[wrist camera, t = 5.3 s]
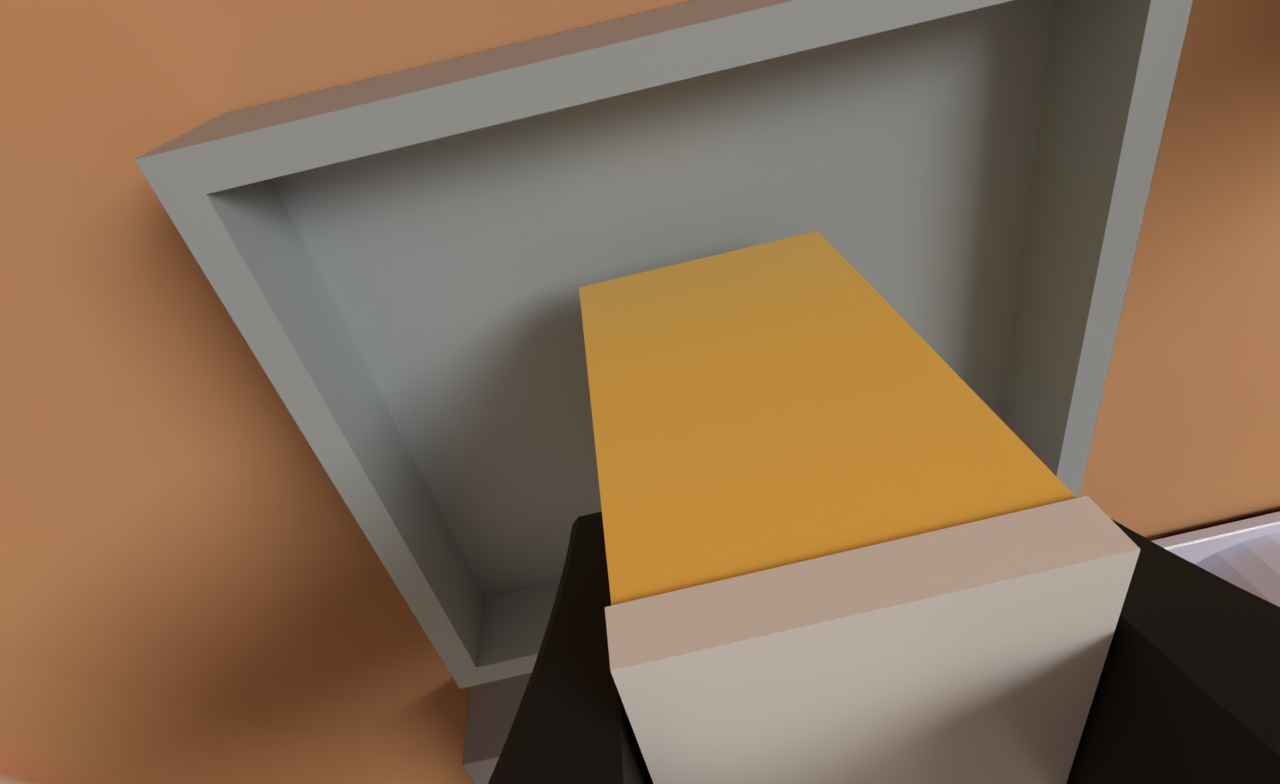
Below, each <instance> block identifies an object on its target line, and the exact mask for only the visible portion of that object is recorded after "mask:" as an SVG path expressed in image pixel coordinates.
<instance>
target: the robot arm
mask: <svg viewBox="0 0 1280 784" xmlns="http://www.w3.org/2000/svg"><path fill="white" fill-rule="evenodd" d="M1111 520H1112V519H1111ZM1112 521H1113V522H1114V523H1115V524H1116V525H1117V526H1118V527H1119V528H1120V529H1121V530H1122V531H1123V532H1124V533H1125V534H1126V535H1127V536H1128V537H1129V538H1130V539H1131V540H1132V541H1133V542H1134V543H1135V544H1136V545H1137V546H1138V547H1139V548H1140V549H1141V550H1140V553H1139V556H1138V559H1137V562H1136V566H1135V569H1134V572H1133V575H1132V578H1131V581H1130V584H1129V588H1128V591H1127V594H1126V597H1125V600H1124V603H1123V606H1122V610H1121V613H1120V616H1119V619H1118V622H1117V625H1116V628H1115V632H1114V635H1113V638H1112V641H1111V644H1110V647H1109V650H1108V654H1107V657H1106V660H1105V663H1104V666H1103V669H1102V673H1101V676H1100V679H1099V682H1098V685H1097V688H1096V691H1095V695H1094V698H1093V701H1092V704H1091V707H1090V710H1089V713H1088V717H1087V720H1086V723H1085V726H1084V729H1083V732H1082V735H1081V739H1080V742H1079V745H1078V748H1077V751H1076V754H1075V758H1074V761H1073V764H1072V767H1071V770H1070V773H1069V776H1068V780H1067V783H1066V784H1280V511H1278V512H1274V513H1270V514H1265V515H1261V516H1257V517H1252V518H1248V519H1244V520H1239V521H1235V522H1230V523H1226V524H1222V525H1217V526H1213V527H1209V528H1204V529H1200V530H1196V531H1191V532H1187V533H1182V534H1178V535H1174V536H1169V537H1165V538H1161V539H1156V540H1152V541H1150V540H1148V539H1146V538H1144V537H1143V536H1141V535H1139V534H1137V533H1135V532H1133V531H1132V530H1130V529H1128V528H1126V527H1125V526H1123V525H1121V524H1119V523H1117V522H1116V521H1114V520H1112ZM608 606H611V597H610V587H609V577H608V567H607V557H606V548H605V538H604V528H603V518H602V511H601V512H597V513H593V514H588V515H584V516H580V517H578V518H577V519H576V520H575V522H574V523H573V524H572V529H571V535H570V541H569V545H568V550H567V555H566V559H565V564H564V568H563V572H562V576H561V580H560V583H559V587H558V591H557V594H556V598H555V602H554V605H553V609H552V612H551V615H550V618H549V621H548V624H547V628H546V631H545V634H544V637H543V640H542V643H541V646H540V650H539V653H538V656H537V659H536V662H535V665H534V668H533V671H532V674H531V676H530V679H529V682H528V684H527V687H526V690H525V692H524V695H523V698H522V700H521V703H520V705H519V708H518V711H517V713H516V716H515V719H514V721H513V724H512V727H511V729H510V732H509V734H508V737H507V740H506V742H505V744H504V747H503V749H502V752H501V754H500V756H499V759H498V761H497V764H496V766H495V768H494V771H493V773H492V775H491V778H490V780H489V782H488V784H653V781H652V778H651V776H650V773H649V770H648V768H647V765H646V763H645V760H644V757H643V755H642V752H641V750H640V747H639V744H638V742H637V739H636V736H635V734H634V731H633V729H632V726H631V723H630V721H629V718H628V716H627V713H626V710H625V708H624V705H623V702H622V700H621V697H620V695H619V692H618V689H617V687H616V684H615V682H614V679H613V676H612V674H611V671H610V660H609V649H608V638H607V627H606V616H605V607H608Z"/></svg>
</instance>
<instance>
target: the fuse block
mask: <svg viewBox="0 0 1280 784" xmlns="http://www.w3.org/2000/svg"><path fill="white" fill-rule="evenodd" d="M531 674H532V673H527V674H523V675H519V676H514V677H510V678H506V679H501V680H497V681H493V682H488V683H484V684H479V685H475V686H471V687H470V693H469V703H468V713H467V722H466V732H465V742H464V752H463V762H462V766H463V767H464V768H465V770H466V771H467V773H468V774H469V776H470V777H471V779H472V780H473V782H474V783H475V784H488V782H489V780H490V778H491V775H492V773H493V771H494V768H495V766H496V764H497V761H498V759H499V756H500V754H501V752H502V749H503V747H504V744H505V742H506V740H507V737H508V734H509V732H510V729H511V727H512V724H513V721H514V719H515V716H516V713H517V711H518V708H519V705H520V703H521V700H522V698H523V695H524V692H525V690H526V687H527V684H528V682H529V679H530V676H531Z"/></svg>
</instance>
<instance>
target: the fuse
mask: <svg viewBox="0 0 1280 784" xmlns="http://www.w3.org/2000/svg"><path fill="white" fill-rule="evenodd" d="M579 293H580V302H581V312H582V322H583V332H584V342H585V351H586V361H587V371H588V381H589V391H590V401H591V410H592V420H593V430H594V440H595V450H596V459H597V469H598V479H599V489H600V499H601V508H602V518H603V528H604V538H605V548H606V557H607V567H608V577H609V587H610V597H611V606H608V607H605V616H606V627H607V638H608V649H609V660H610V671H611V674H612V676H613V679H614V682H615V684H616V687H617V689H618V692H619V695H620V697H621V700H622V702H623V705H624V708H625V710H626V713H627V716H628V718H629V721H630V723H631V726H632V729H633V731H634V734H635V736H636V739H637V742H638V744H639V747H640V750H641V752H642V755H643V757H644V760H645V763H646V765H647V768H648V770H649V773H650V776H651V778H652V781H653V784H1066V783H1067V780H1068V776H1069V773H1070V770H1071V767H1072V764H1073V761H1074V758H1075V754H1076V751H1077V748H1078V745H1079V742H1080V739H1081V735H1082V732H1083V729H1084V726H1085V723H1086V720H1087V717H1088V713H1089V710H1090V707H1091V704H1092V701H1093V698H1094V695H1095V691H1096V688H1097V685H1098V682H1099V679H1100V676H1101V673H1102V669H1103V666H1104V663H1105V660H1106V657H1107V654H1108V650H1109V647H1110V644H1111V641H1112V638H1113V635H1114V632H1115V628H1116V625H1117V622H1118V619H1119V616H1120V613H1121V610H1122V606H1123V603H1124V600H1125V597H1126V594H1127V591H1128V588H1129V584H1130V581H1131V578H1132V575H1133V572H1134V569H1135V566H1136V562H1137V559H1138V556H1139V553H1140V550H1141V549H1140V548H1139V547H1138V546H1137V545H1136V544H1135V543H1134V542H1133V541H1132V540H1131V539H1130V538H1129V537H1128V536H1127V535H1126V534H1125V533H1124V532H1123V531H1122V530H1121V529H1120V528H1119V527H1118V526H1117V525H1116V524H1115V523H1114V522H1113V521H1112V520H1111V519H1110V518H1109V517H1108V516H1107V515H1106V514H1105V513H1104V512H1103V511H1102V510H1101V509H1100V508H1099V507H1098V506H1097V505H1096V504H1095V503H1094V502H1093V501H1092V500H1091V499H1090V498H1089V497H1088V496H1084V497H1079V498H1077V497H1076V496H1075V495H1074V494H1073V493H1072V492H1071V491H1070V490H1069V489H1068V488H1067V487H1066V486H1065V485H1064V484H1063V483H1062V482H1061V481H1060V480H1059V479H1058V478H1057V477H1056V476H1055V475H1054V474H1053V473H1052V471H1051V470H1050V469H1049V468H1048V467H1047V466H1046V465H1045V464H1044V463H1043V462H1042V461H1041V460H1040V459H1039V458H1038V457H1037V456H1036V455H1035V454H1034V453H1033V452H1032V451H1031V450H1030V449H1029V448H1028V447H1027V446H1026V445H1025V444H1024V443H1023V442H1022V441H1021V440H1020V439H1019V438H1018V436H1017V435H1016V434H1015V433H1014V432H1013V431H1012V430H1011V429H1010V428H1009V427H1008V426H1007V425H1006V424H1005V423H1004V422H1003V421H1002V420H1001V419H1000V418H999V417H998V416H997V415H996V414H995V413H994V412H993V411H992V410H991V409H990V408H989V407H988V406H987V405H986V404H985V402H984V401H983V400H982V399H981V398H980V397H979V396H978V395H977V394H976V393H975V392H974V391H973V390H972V389H971V388H970V387H969V386H968V385H967V384H966V383H965V382H964V381H963V380H962V379H961V378H960V377H959V376H958V375H957V374H956V373H955V372H954V371H953V370H952V369H951V367H950V366H949V365H948V364H947V363H946V362H945V361H944V360H943V359H942V358H941V357H940V356H939V355H938V354H937V353H936V352H935V351H934V350H933V349H932V348H931V347H930V346H929V345H928V344H927V343H926V342H925V341H924V340H923V339H922V338H921V337H920V336H919V335H918V333H917V332H916V331H915V330H914V329H913V328H912V327H911V326H910V325H909V324H908V323H907V322H906V321H905V320H904V319H903V318H902V317H901V316H900V315H899V314H898V313H897V312H896V311H895V310H894V309H893V308H892V307H891V306H890V305H889V304H888V303H887V302H886V301H885V299H884V298H883V297H882V296H881V295H880V294H879V293H878V292H877V291H876V290H875V289H874V288H873V287H872V286H871V285H870V284H869V283H868V282H867V281H866V280H865V279H864V278H863V277H862V276H861V275H860V274H859V273H858V272H857V271H856V270H855V269H854V268H853V267H852V266H851V264H850V263H849V262H848V261H847V260H846V259H845V258H844V257H843V256H842V255H841V254H840V253H839V252H838V251H837V250H836V249H835V248H834V247H833V246H832V245H831V244H830V243H829V242H828V241H827V240H826V239H825V238H824V237H823V236H822V235H821V234H820V233H819V232H818V231H814V232H810V233H806V234H802V235H797V236H793V237H789V238H785V239H781V240H776V241H772V242H768V243H764V244H760V245H755V246H751V247H747V248H743V249H738V250H734V251H730V252H726V253H722V254H717V255H713V256H709V257H705V258H700V259H696V260H692V261H688V262H684V263H679V264H675V265H671V266H667V267H663V268H658V269H654V270H650V271H646V272H641V273H637V274H633V275H629V276H625V277H620V278H616V279H612V280H608V281H603V282H599V283H595V284H591V285H587V286H582V287H579Z"/></svg>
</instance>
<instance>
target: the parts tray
mask: <svg viewBox="0 0 1280 784" xmlns="http://www.w3.org/2000/svg"><path fill="white" fill-rule="evenodd" d="M1192 3H1193V0H694V1H690V2H685V3H681V4H677V5H673V6H669V7H665V8H661V9H657V10H652V11H648V12H644V13H640V14H636V15H632V16H628V17H623V18H619V19H615V20H611V21H607V22H603V23H599V24H595V25H590V26H586V27H582V28H578V29H574V30H570V31H566V32H561V33H557V34H553V35H549V36H545V37H541V38H537V39H533V40H528V41H524V42H520V43H516V44H512V45H508V46H504V47H499V48H495V49H491V50H487V51H483V52H479V53H475V54H470V55H466V56H462V57H458V58H454V59H450V60H446V61H442V62H437V63H433V64H429V65H425V66H421V67H417V68H413V69H408V70H404V71H400V72H396V73H392V74H388V75H384V76H380V77H375V78H371V79H367V80H363V81H359V82H355V83H351V84H346V85H342V86H338V87H334V88H330V89H326V90H322V91H317V92H313V93H309V94H305V95H301V96H297V97H293V98H289V99H284V100H280V101H276V102H272V103H268V104H264V105H260V106H255V107H251V108H247V109H243V110H239V111H235V112H231V113H227V114H222V115H220V116H218V117H216V118H214V119H212V120H210V121H208V122H206V123H205V124H203V125H201V126H199V127H197V128H195V129H193V130H191V131H189V132H187V133H185V134H183V135H181V136H179V137H177V138H175V139H173V140H171V141H170V142H168V143H166V144H164V145H162V146H160V147H158V148H156V149H154V150H152V151H150V152H148V153H146V154H144V155H142V156H140V157H138V158H136V159H135V161H136V163H137V165H138V166H139V168H140V170H141V171H142V173H143V174H144V176H145V178H146V179H147V181H148V183H149V184H150V186H151V187H152V189H153V191H154V192H155V194H156V196H157V197H158V199H159V201H160V202H161V204H162V205H163V207H164V209H165V210H166V212H167V214H168V215H169V217H170V218H171V220H172V222H173V223H174V225H175V227H176V228H177V230H178V231H179V233H180V235H181V236H182V238H183V240H184V241H185V243H186V244H187V246H188V248H189V249H190V251H191V253H192V254H193V256H194V257H195V259H196V261H197V262H198V264H199V266H200V267H201V269H202V271H203V272H204V274H205V275H206V277H207V279H208V280H209V282H210V284H211V285H212V287H213V288H214V290H215V292H216V293H217V295H218V297H219V298H220V300H221V301H222V303H223V305H224V306H225V308H226V310H227V311H228V313H229V314H230V316H231V318H232V319H233V321H234V323H235V324H236V326H237V328H238V329H239V331H240V332H241V334H242V336H243V337H244V339H245V341H246V342H247V344H248V345H249V347H250V349H251V350H252V352H253V354H254V355H255V357H256V358H257V360H258V362H259V363H260V365H261V367H262V368H263V370H264V371H265V373H266V375H267V376H268V378H269V380H270V381H271V383H272V384H273V386H274V388H275V389H276V391H277V393H278V394H279V396H280V398H281V399H282V401H283V402H284V404H285V406H286V407H287V409H288V411H289V412H290V414H291V415H292V417H293V419H294V420H295V422H296V424H297V425H298V427H299V428H300V430H301V432H302V433H303V435H304V437H305V438H306V440H307V441H308V443H309V445H310V446H311V448H312V450H313V451H314V453H315V455H316V456H317V458H318V459H319V461H320V463H321V464H322V466H323V468H324V469H325V471H326V472H327V474H328V476H329V477H330V479H331V481H332V482H333V484H334V485H335V487H336V489H337V490H338V492H339V494H340V495H341V497H342V498H343V500H344V502H345V503H346V505H347V507H348V508H349V510H350V511H351V513H352V515H353V516H354V518H355V520H356V521H357V523H358V525H359V526H360V528H361V529H362V531H363V533H364V534H365V536H366V538H367V539H368V541H369V542H370V544H371V546H372V547H373V549H374V551H375V552H376V554H377V555H378V557H379V559H380V560H381V562H382V564H383V565H384V567H385V568H386V570H387V572H388V573H389V575H390V577H391V578H392V580H393V582H394V583H395V585H396V586H397V588H398V590H399V591H400V593H401V595H402V596H403V598H404V599H405V601H406V603H407V604H408V606H409V608H410V609H411V611H412V612H413V614H414V616H415V617H416V619H417V621H418V622H419V624H420V625H421V627H422V629H423V630H424V632H425V634H426V635H427V637H428V638H429V640H430V642H431V643H432V645H433V647H434V648H435V650H436V652H437V653H438V655H439V656H440V658H441V660H442V661H443V663H444V665H445V666H446V668H447V669H448V671H449V673H450V674H451V676H452V678H453V679H454V681H455V682H456V684H457V686H458V687H459V689H462V688H466V687H471V686H475V685H479V684H484V683H488V682H493V681H497V680H501V679H506V678H510V677H514V676H519V675H523V674H527V673H532V671H533V668H534V665H535V662H536V659H537V656H538V653H539V650H540V646H541V643H542V640H543V637H544V634H545V631H546V628H547V624H548V621H549V618H550V615H551V612H552V609H553V605H554V602H555V598H556V594H557V591H558V587H559V583H560V580H561V576H562V572H563V568H564V564H565V559H566V555H567V550H568V545H569V541H570V535H571V529H572V524H573V523H574V522H575V520H576V519H577V518H578V517H580V516H584V515H588V514H593V513H597V512H601V511H602V508H601V499H600V489H599V479H598V469H597V459H596V450H595V440H594V430H593V420H592V410H591V401H590V391H589V381H588V371H587V361H586V351H585V342H584V332H583V322H582V312H581V302H580V293H579V287H582V286H587V285H591V284H595V283H599V282H603V281H608V280H612V279H616V278H620V277H625V276H629V275H633V274H637V273H641V272H646V271H650V270H654V269H658V268H663V267H667V266H671V265H675V264H679V263H684V262H688V261H692V260H696V259H700V258H705V257H709V256H713V255H717V254H722V253H726V252H730V251H734V250H738V249H743V248H747V247H751V246H755V245H760V244H764V243H768V242H772V241H776V240H781V239H785V238H789V237H793V236H797V235H802V234H806V233H810V232H814V231H818V232H819V233H820V234H821V235H822V236H823V237H824V238H825V239H826V240H827V241H828V242H829V243H830V244H831V245H832V246H833V247H834V248H835V249H836V250H837V251H838V252H839V253H840V254H841V255H842V256H843V257H844V258H845V259H846V260H847V261H848V262H849V263H850V264H851V266H852V267H853V268H854V269H855V270H856V271H857V272H858V273H859V274H860V275H861V276H862V277H863V278H864V279H865V280H866V281H867V282H868V283H869V284H870V285H871V286H872V287H873V288H874V289H875V290H876V291H877V292H878V293H879V294H880V295H881V296H882V297H883V298H884V299H885V301H886V302H887V303H888V304H889V305H890V306H891V307H892V308H893V309H894V310H895V311H896V312H897V313H898V314H899V315H900V316H901V317H902V318H903V319H904V320H905V321H906V322H907V323H908V324H909V325H910V326H911V327H912V328H913V329H914V330H915V331H916V332H917V333H918V335H919V336H920V337H921V338H922V339H923V340H924V341H925V342H926V343H927V344H928V345H929V346H930V347H931V348H932V349H933V350H934V351H935V352H936V353H937V354H938V355H939V356H940V357H941V358H942V359H943V360H944V361H945V362H946V363H947V364H948V365H949V366H950V367H951V369H952V370H953V371H954V372H955V373H956V374H957V375H958V376H959V377H960V378H961V379H962V380H963V381H964V382H965V383H966V384H967V385H968V386H969V387H970V388H971V389H972V390H973V391H974V392H975V393H976V394H977V395H978V396H979V397H980V398H981V399H982V400H983V401H984V402H985V404H986V405H987V406H988V407H989V408H990V409H991V410H992V411H993V412H994V413H995V414H996V415H997V416H998V417H999V418H1000V419H1001V420H1002V421H1003V422H1004V423H1005V424H1006V425H1007V426H1008V427H1009V428H1010V429H1011V430H1012V431H1013V432H1014V433H1015V434H1016V435H1017V436H1018V438H1019V439H1020V440H1021V441H1022V442H1023V443H1024V444H1025V445H1026V446H1027V447H1028V448H1029V449H1030V450H1031V451H1032V452H1033V453H1034V454H1035V455H1036V456H1037V457H1038V458H1039V459H1040V460H1041V461H1042V462H1043V463H1044V464H1045V465H1046V466H1047V467H1048V468H1049V469H1050V470H1051V471H1052V473H1053V474H1054V475H1055V476H1056V477H1057V478H1058V479H1059V480H1060V481H1061V482H1062V483H1063V484H1064V485H1065V486H1066V487H1067V488H1068V489H1069V490H1070V491H1071V492H1072V493H1073V494H1074V495H1075V496H1076V497H1077V498H1079V495H1080V491H1081V487H1082V482H1083V478H1084V473H1085V469H1086V465H1087V460H1088V456H1089V452H1090V447H1091V443H1092V439H1093V434H1094V430H1095V425H1096V421H1097V417H1098V412H1099V408H1100V404H1101V399H1102V395H1103V391H1104V386H1105V382H1106V378H1107V373H1108V369H1109V364H1110V360H1111V356H1112V351H1113V347H1114V343H1115V338H1116V334H1117V330H1118V325H1119V321H1120V317H1121V312H1122V308H1123V303H1124V299H1125V295H1126V290H1127V286H1128V282H1129V277H1130V273H1131V269H1132V264H1133V260H1134V256H1135V251H1136V247H1137V242H1138V238H1139V234H1140V229H1141V225H1142V221H1143V216H1144V212H1145V208H1146V203H1147V199H1148V194H1149V190H1150V186H1151V181H1152V177H1153V173H1154V168H1155V164H1156V160H1157V155H1158V151H1159V147H1160V142H1161V138H1162V133H1163V129H1164V125H1165V120H1166V116H1167V112H1168V107H1169V103H1170V99H1171V94H1172V90H1173V86H1174V81H1175V77H1176V72H1177V68H1178V64H1179V59H1180V55H1181V51H1182V46H1183V42H1184V38H1185V33H1186V29H1187V25H1188V20H1189V16H1190V11H1191V7H1192Z"/></svg>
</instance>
